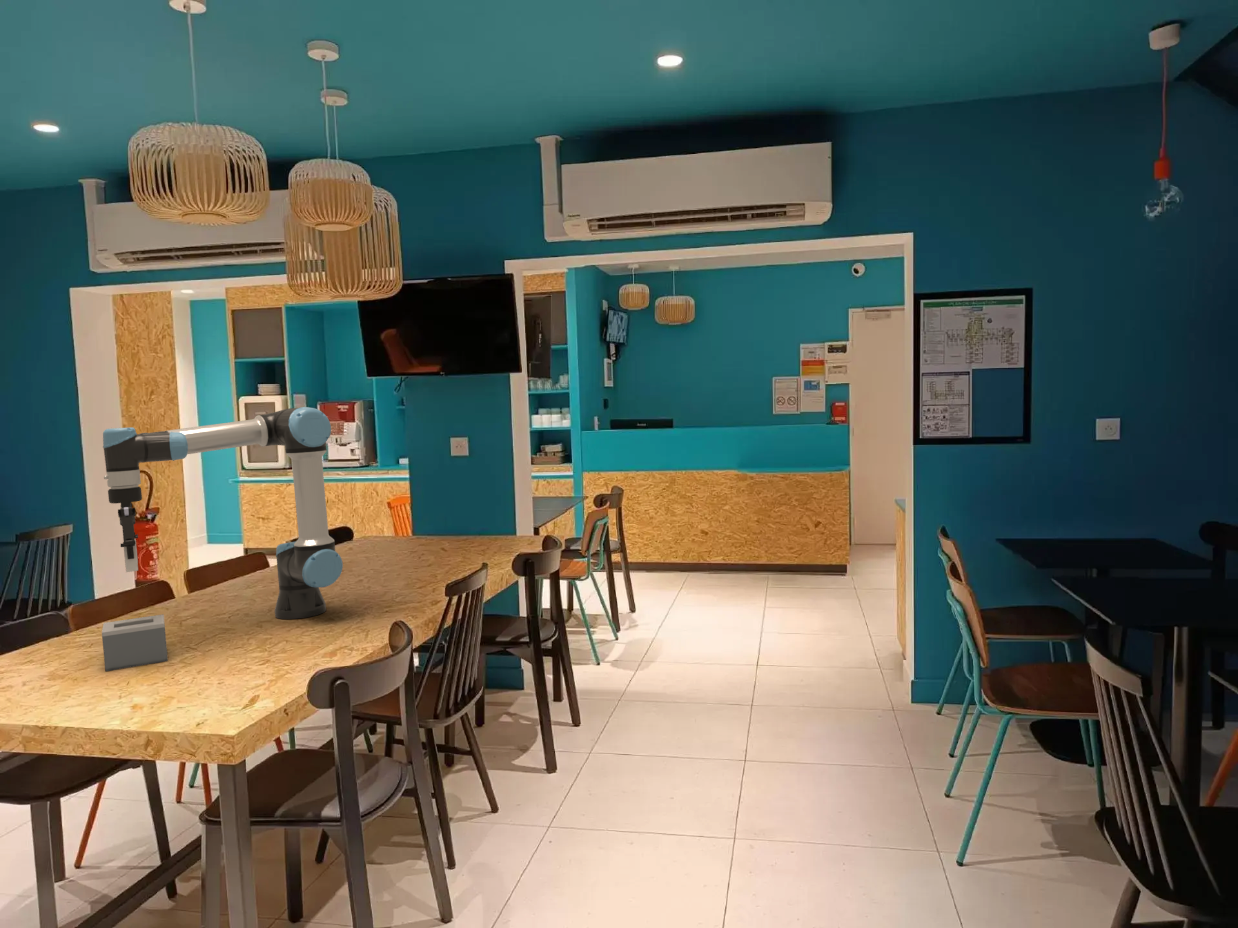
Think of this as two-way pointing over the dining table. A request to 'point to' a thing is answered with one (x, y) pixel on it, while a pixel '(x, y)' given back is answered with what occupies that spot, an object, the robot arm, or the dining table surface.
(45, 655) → the dining table surface
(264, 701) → the dining table surface
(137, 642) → the box with rectangular hole
